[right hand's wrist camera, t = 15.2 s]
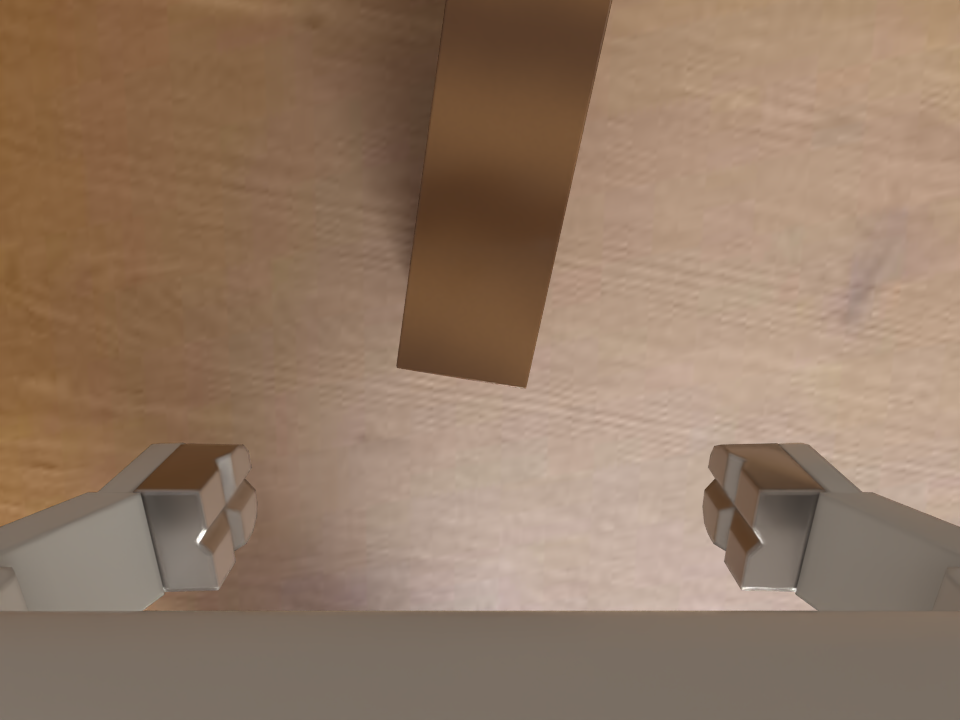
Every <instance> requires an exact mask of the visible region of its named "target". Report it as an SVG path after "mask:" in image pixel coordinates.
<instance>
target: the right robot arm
mask: <svg viewBox="0 0 960 720" xmlns="http://www.w3.org/2000/svg"><path fill="white" fill-rule="evenodd" d="M251 468H252V466H251V461H250V456H249V451H248V450H247V448H246V447H245V446H244V445H240V444H185V443H162V444H152V445H150V446H149V447H148V448H147V449H146V450H145V451H144V452H143V453H141V454H140V455H139V456H138V457H137V458H136V459H135V460H133V461H132V462H131V463H130V464H129V465H128V466H127V467H126V468H124V469H123V470H122V471H121V472H120V473H119V474H118V475H116V476H115V477H114V478H113V479H112V480H111V481H110V482H109V483H107V484H106V485H105V486H104V487H103V488H102V489H101V490H99V491H98V492H89V493H85V494H82V495H80V496H77V497H75V498H72V499H70V500H67V501H65V502H62V503H60V504H57V505H55V506H52V507H50V508H47V509H44V510H42V511H39V512H37V513H34V514H32V515H29V516H27V517H24V518H22V519H19V520H17V521H14V522H12V523H9V524H6V525H4V526H1V527H0V720H960V527H958V526H956V525H953V524H951V523H948V522H946V521H943V520H941V519H938V518H936V517H933V516H931V515H928V514H926V513H923V512H920V511H918V510H915V509H913V508H910V507H908V506H905V505H903V504H900V503H898V502H895V501H893V500H890V499H888V498H885V497H883V496H880V495H878V494H875V493H872V492H862V491H861V490H859V489H858V488H857V487H856V486H855V485H854V484H853V483H852V482H850V481H849V480H848V479H847V478H846V477H845V476H844V475H843V474H841V473H840V472H839V471H838V470H837V469H836V468H835V467H833V466H832V465H831V464H830V463H829V462H828V461H827V460H826V459H824V458H823V457H822V456H821V455H820V454H819V453H818V452H817V451H815V450H814V449H813V448H812V447H811V446H810V445H808V444H804V443H785V444H777V443H770V444H729V445H717V446H714V448H713V450H712V452H711V454H710V460H709V465H708V468H709V470H710V471H711V473H712V474H713V476H714V477H715V479H714V480H713V482H712V483H711V484H710V485H709V486H708V487H707V488H706V489H705V491H704V499H703V516H704V524H705V527H706V530H707V533H708V535H709V537H710V538H711V540H712V542H713V544H715V545H717V546H718V547H720V548H721V549H723V550H725V551H726V554H725V559H724V562H725V564H726V566H727V567H728V569H729V571H730V572H731V574H732V575H733V577H734V579H735V580H736V582H737V584H738V585H739V587H740V589H741V590H749V591H785V592H796V593H795V594H796V595H797V596H799V597H800V598H801V599H803V600H804V601H805V602H807V603H808V604H809V605H811V606H812V607H813V608H815V609H816V610H818V611H143V610H144V609H145V608H147V607H148V606H149V605H151V604H152V603H153V602H155V601H156V600H158V599H159V598H160V597H162V596H163V595H164V594H165V593H164V592H174V591H210V590H219V589H220V587H221V586H222V584H223V582H224V581H225V579H226V577H227V576H228V574H229V572H230V571H231V569H232V567H233V566H234V564H235V562H236V559H235V554H234V551H235V550H237V549H239V548H240V547H242V546H243V545H245V544H247V542H248V540H249V538H250V536H251V535H252V533H253V530H254V526H255V522H256V518H257V497H256V490H255V489H254V488H253V487H252V486H251V485H250V484H249V483H248V482H247V480H246V479H245V477H246V476H247V474H248V473H249V471H250V470H251Z"/></svg>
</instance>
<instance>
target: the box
mask: <svg viewBox="0 0 960 720" xmlns="http://www.w3.org/2000/svg"><path fill="white" fill-rule="evenodd" d="M611 4H612V0H446V4H445V11H444V18H443V26H442V33H441V41H440V48H439V55H438V63H437V70H436V78H435V85H434V92H433V100H432V107H431V115H430V122H429V129H428V137H427V144H426V152H425V159H424V166H423V174H422V181H421V188H420V196H419V203H418V211H417V218H416V225H415V233H414V240H413V248H412V255H411V262H410V270H409V277H408V285H407V292H406V299H405V307H404V314H403V321H402V329H401V336H400V344H399V351H398V358H397V368H401V369H407V370H413V371H419V372H425V373H431V374H437V375H443V376H450V377H456V378H462V379H468V380H474V381H480V382H486V383H492V384H498V385H504V386H511V387H517V388H523V389H525V388H526V386H527V382H528V377H529V373H530V368H531V364H532V359H533V355H534V350H535V346H536V341H537V337H538V332H539V328H540V323H541V319H542V314H543V310H544V305H545V301H546V296H547V292H548V287H549V283H550V278H551V274H552V269H553V265H554V260H555V256H556V251H557V247H558V242H559V238H560V233H561V229H562V224H563V220H564V215H565V211H566V206H567V202H568V197H569V193H570V188H571V184H572V179H573V175H574V170H575V166H576V161H577V157H578V152H579V148H580V143H581V139H582V134H583V130H584V125H585V121H586V116H587V112H588V107H589V103H590V98H591V94H592V89H593V85H594V80H595V76H596V71H597V67H598V62H599V58H600V53H601V49H602V44H603V40H604V35H605V31H606V26H607V22H608V17H609V13H610V8H611Z"/></svg>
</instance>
